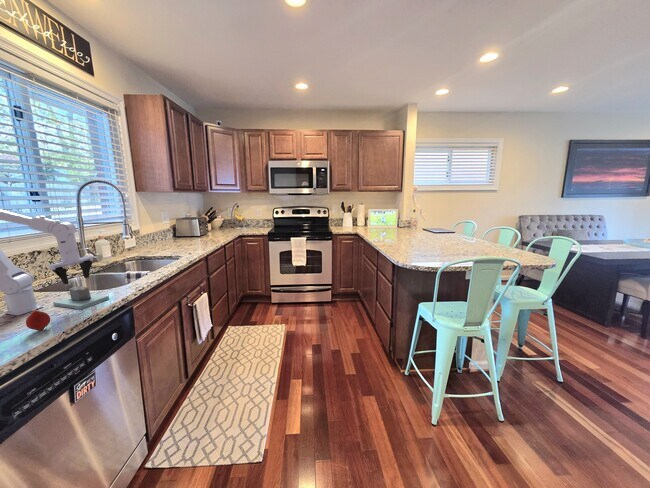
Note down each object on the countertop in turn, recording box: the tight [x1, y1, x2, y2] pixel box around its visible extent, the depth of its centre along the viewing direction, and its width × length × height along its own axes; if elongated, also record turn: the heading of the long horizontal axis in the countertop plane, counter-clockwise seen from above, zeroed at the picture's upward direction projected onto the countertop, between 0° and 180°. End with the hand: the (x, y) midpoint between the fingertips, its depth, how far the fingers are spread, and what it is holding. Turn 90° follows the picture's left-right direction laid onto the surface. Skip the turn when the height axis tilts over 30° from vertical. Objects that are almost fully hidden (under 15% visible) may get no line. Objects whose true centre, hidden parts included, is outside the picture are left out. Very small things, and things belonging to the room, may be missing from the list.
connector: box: [66, 286, 91, 301], centre depth 117 cm, size 11×4×5 cm, turn 72°
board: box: [52, 293, 110, 310], centre depth 117 cm, size 18×11×2 cm, turn 72°
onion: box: [25, 309, 51, 332], centre depth 92 cm, size 6×6×8 cm
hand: (76, 280), depth 115 cm, fingers open, 7 cm apart
